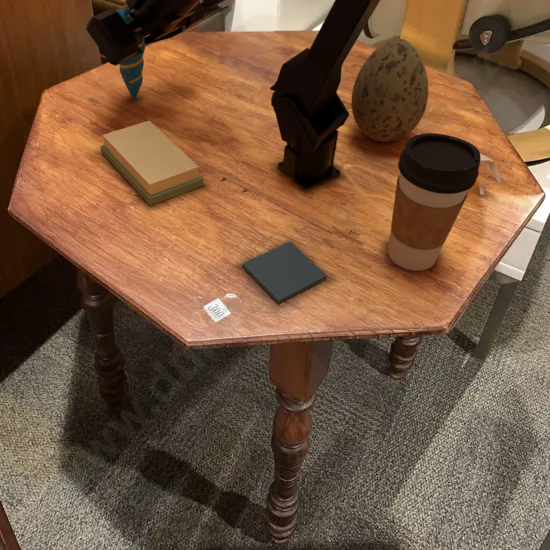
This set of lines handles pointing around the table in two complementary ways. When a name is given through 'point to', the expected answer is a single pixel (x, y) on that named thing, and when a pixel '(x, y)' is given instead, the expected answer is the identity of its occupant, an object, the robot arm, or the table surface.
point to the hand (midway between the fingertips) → (123, 49)
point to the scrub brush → (151, 162)
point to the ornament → (132, 62)
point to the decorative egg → (390, 91)
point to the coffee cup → (429, 196)
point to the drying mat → (284, 272)
